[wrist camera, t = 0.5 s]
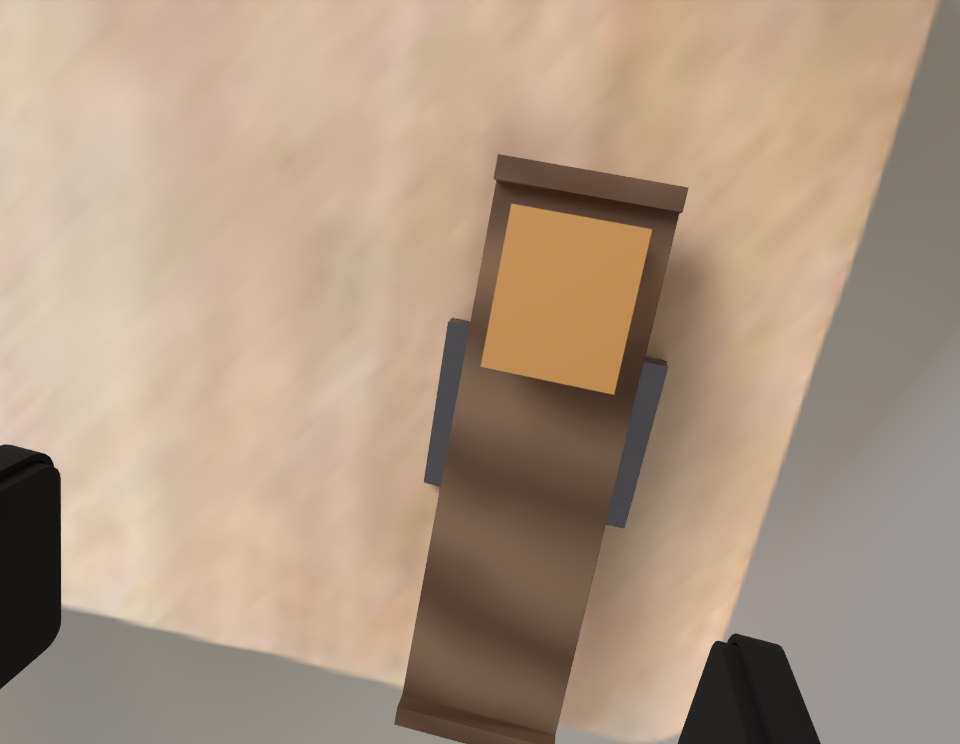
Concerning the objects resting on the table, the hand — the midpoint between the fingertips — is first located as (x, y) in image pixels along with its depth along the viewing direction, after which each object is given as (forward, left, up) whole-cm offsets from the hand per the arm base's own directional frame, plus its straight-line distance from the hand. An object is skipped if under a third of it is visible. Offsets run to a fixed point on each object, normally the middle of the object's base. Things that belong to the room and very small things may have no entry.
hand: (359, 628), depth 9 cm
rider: (+1, +2, -23) cm, 23 cm away
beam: (+8, -4, -23) cm, 24 cm away
